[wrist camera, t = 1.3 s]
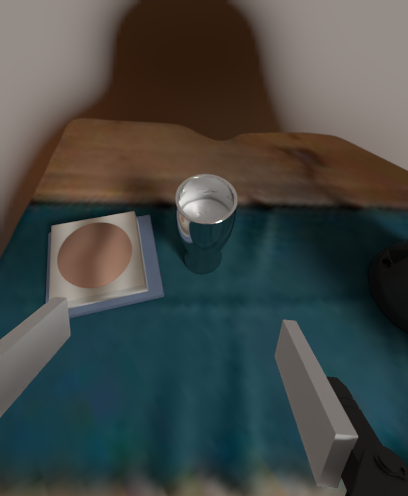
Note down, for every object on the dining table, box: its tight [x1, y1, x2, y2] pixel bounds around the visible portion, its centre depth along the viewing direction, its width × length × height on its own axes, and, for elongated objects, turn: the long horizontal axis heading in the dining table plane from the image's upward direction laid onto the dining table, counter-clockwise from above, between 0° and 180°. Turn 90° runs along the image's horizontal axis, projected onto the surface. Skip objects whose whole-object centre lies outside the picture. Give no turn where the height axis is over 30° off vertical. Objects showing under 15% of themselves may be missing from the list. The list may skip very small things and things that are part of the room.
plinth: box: [49, 211, 148, 309], centre depth 35 cm, size 12×12×3 cm
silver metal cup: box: [175, 174, 238, 274], centre depth 32 cm, size 7×7×15 cm
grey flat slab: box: [46, 215, 164, 318], centre depth 37 cm, size 16×14×1 cm
